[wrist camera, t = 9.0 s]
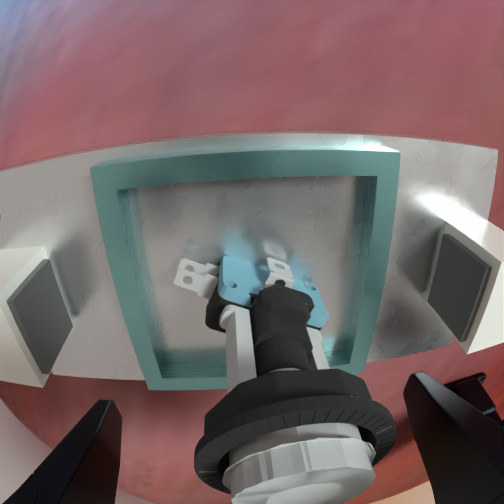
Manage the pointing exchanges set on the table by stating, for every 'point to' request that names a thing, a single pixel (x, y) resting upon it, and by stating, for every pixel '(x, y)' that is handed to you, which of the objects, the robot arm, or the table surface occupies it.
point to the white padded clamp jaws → (440, 300)
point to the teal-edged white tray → (243, 240)
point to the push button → (282, 394)
